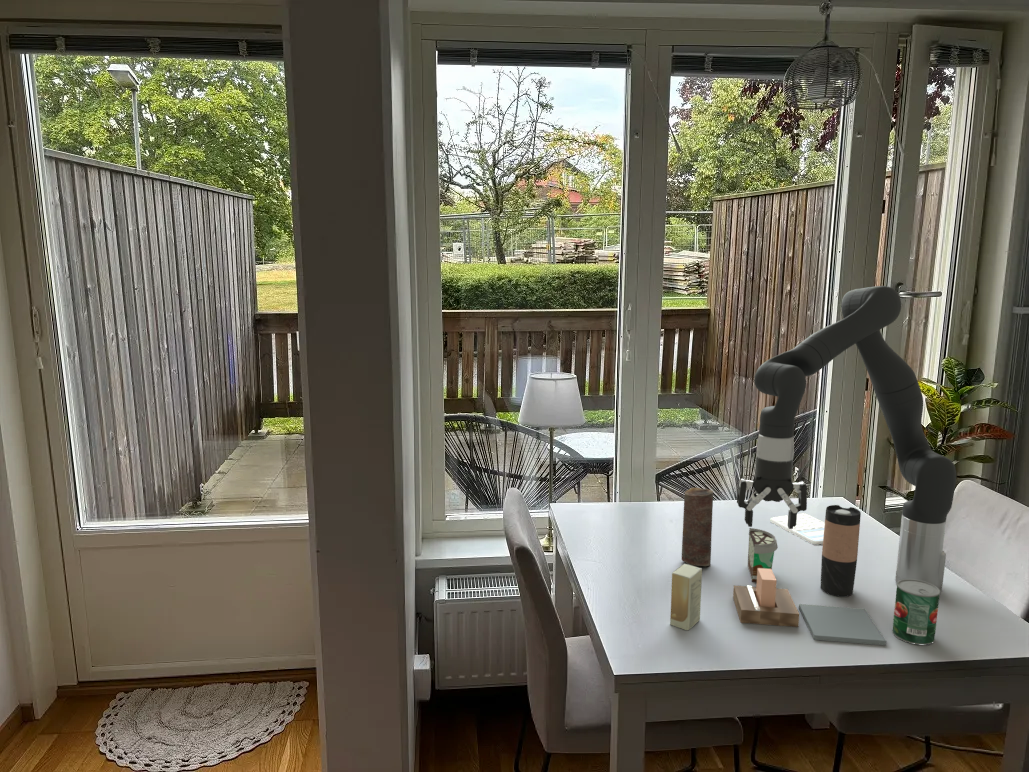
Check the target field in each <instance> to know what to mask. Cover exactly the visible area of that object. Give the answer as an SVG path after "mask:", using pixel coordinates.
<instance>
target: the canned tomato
mask: <svg viewBox="0 0 1029 772" xmlns="http://www.w3.org/2000/svg"><path fill="white" fill-rule="evenodd" d="M940 595H941V591H940V590H939V589H938V588H937V587H936V586H934V585H933V584H930V583H928V582H924V581H920V580H915V579H903V580H900V581H898V582H897V583H896V591H895V601H894V603H895V604H894V611H893V619H892V620H893V621H892V629H891V633H892V635H893V634H894V635H893V636H896V637H895V638H897V639H898V638H899V639H898V640H900V639H901V640H900V641H902V640H903V641H902V642H904V641H906V642H905V643H907V642H909V643H908V644H910V643H915V644H930V643H932V642H934V643H935V640H936V639H935V637H936V629H937V620H938V613H939V612H938V611H939V603H940ZM932 644H933V643H932ZM930 645H931V644H930Z"/></svg>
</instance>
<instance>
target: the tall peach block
mask: <svg viewBox="0 0 1029 772" xmlns="http://www.w3.org/2000/svg"><path fill="white" fill-rule="evenodd" d="M772 569H773V568H772ZM772 569H764V568H758V569H757V582H756V584H755V585H756V586H755V587H756V600H757V602H758V605H759V606H762V607H775V596H776V588H777V582H778V581H777V579H776V576H775V573H774V572H773V570H772Z"/></svg>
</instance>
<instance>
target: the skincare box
mask: <svg viewBox="0 0 1029 772" xmlns="http://www.w3.org/2000/svg"><path fill="white" fill-rule="evenodd" d="M702 581H703V568H702V567H699V566H696V565H690V564H688V563H683V564H682V565H680V566H679V567H678V568H676V569H675V570H673V571H672V573H671V592H670V593H671V594H670V595H671V597H670V598H671V599H670V622H669V623H670V624H669V625H670V626H673V627H676V628H679V629H682V630H685V631H689V630H691V629H692V628H693V627H694V626H695V625H696V624H697V623H698V622H700V621H701V602H702V599H701V598H702Z"/></svg>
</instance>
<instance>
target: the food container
mask: <svg viewBox="0 0 1029 772" xmlns="http://www.w3.org/2000/svg"><path fill="white" fill-rule="evenodd" d="M748 529H749V531H748V552H747V553H748V554H747V570H748V573H749V577H750V579H751V582H752V583H757V569H758V568H764V569H773V563H774V557H775V551H777V550H778V547H779V546H778V541H777V539H776V536H775V535H774V534H773V533H771V532H770V531H766V530H763V529H758V528H755V527H754V528H753V527H749V528H748Z"/></svg>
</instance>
